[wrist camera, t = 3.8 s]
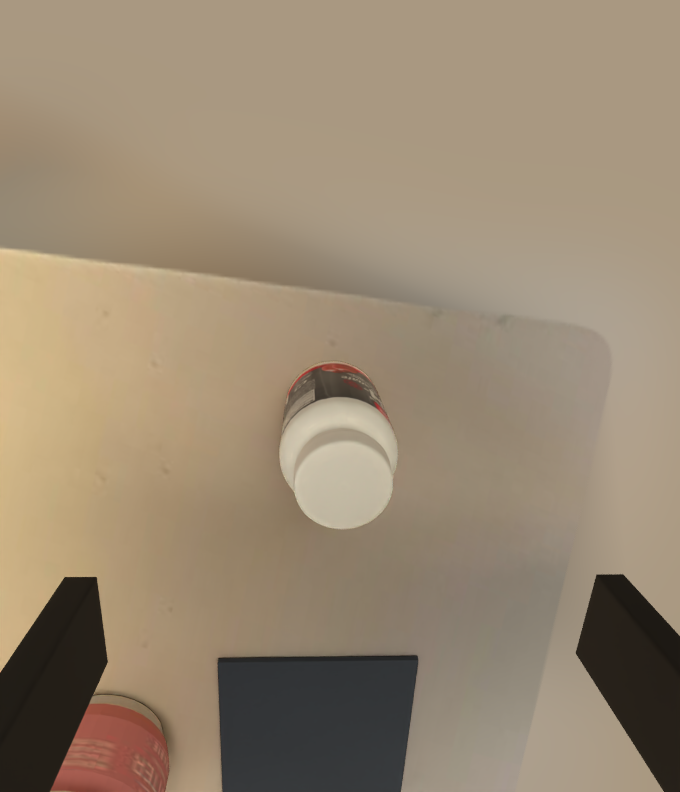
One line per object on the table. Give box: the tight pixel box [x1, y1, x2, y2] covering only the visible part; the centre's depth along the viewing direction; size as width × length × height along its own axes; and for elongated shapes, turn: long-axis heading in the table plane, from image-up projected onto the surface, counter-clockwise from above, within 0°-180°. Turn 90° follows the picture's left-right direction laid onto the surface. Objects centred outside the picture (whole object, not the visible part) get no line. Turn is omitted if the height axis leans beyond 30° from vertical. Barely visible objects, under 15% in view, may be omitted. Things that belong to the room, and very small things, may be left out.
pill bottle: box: [279, 361, 398, 529], centre depth 24 cm, size 5×5×10 cm
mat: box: [218, 656, 418, 792], centre depth 37 cm, size 14×14×1 cm
